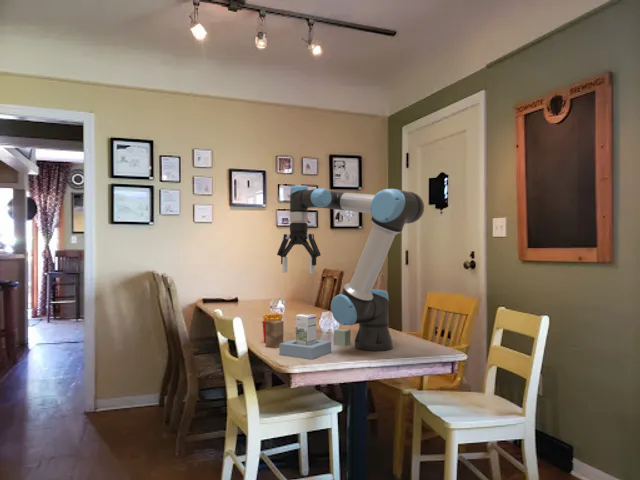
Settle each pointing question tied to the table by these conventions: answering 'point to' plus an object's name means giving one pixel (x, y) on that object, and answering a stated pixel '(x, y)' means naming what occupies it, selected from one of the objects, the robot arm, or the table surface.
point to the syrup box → (306, 329)
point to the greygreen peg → (342, 337)
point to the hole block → (305, 349)
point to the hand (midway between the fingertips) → (298, 273)
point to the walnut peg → (274, 333)
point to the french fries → (269, 318)
